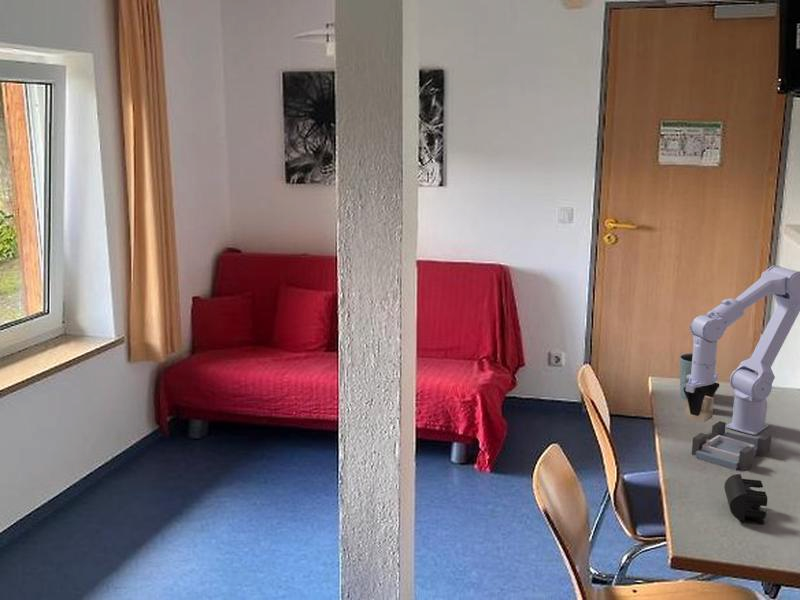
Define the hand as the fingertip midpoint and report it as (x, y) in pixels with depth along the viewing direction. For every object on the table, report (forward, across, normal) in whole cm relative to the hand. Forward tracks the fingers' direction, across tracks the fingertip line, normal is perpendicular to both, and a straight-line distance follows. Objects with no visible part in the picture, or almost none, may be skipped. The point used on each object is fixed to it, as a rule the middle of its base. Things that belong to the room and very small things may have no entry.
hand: (699, 411), depth 218 cm
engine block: (+2, 0, 0) cm, 2 cm away
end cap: (+6, +35, +26) cm, 44 cm away
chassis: (+6, +6, +11) cm, 14 cm away
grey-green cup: (+6, -27, -14) cm, 31 cm away
